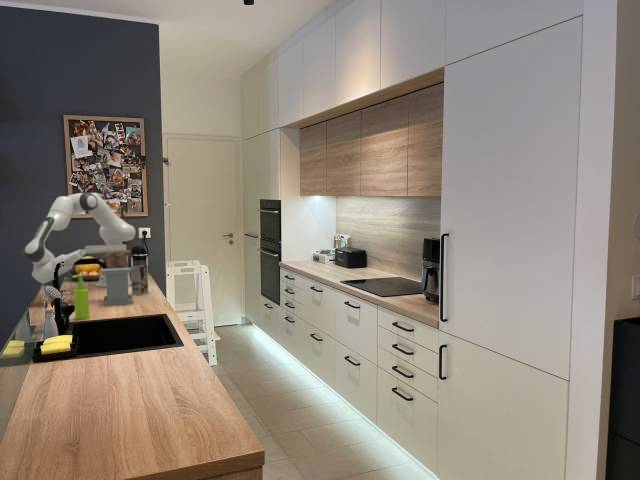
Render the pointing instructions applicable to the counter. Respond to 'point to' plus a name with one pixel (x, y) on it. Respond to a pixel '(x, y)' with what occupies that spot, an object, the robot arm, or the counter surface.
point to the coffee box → (139, 279)
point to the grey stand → (116, 286)
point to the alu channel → (106, 248)
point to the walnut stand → (117, 262)
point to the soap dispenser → (81, 299)
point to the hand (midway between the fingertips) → (89, 248)
